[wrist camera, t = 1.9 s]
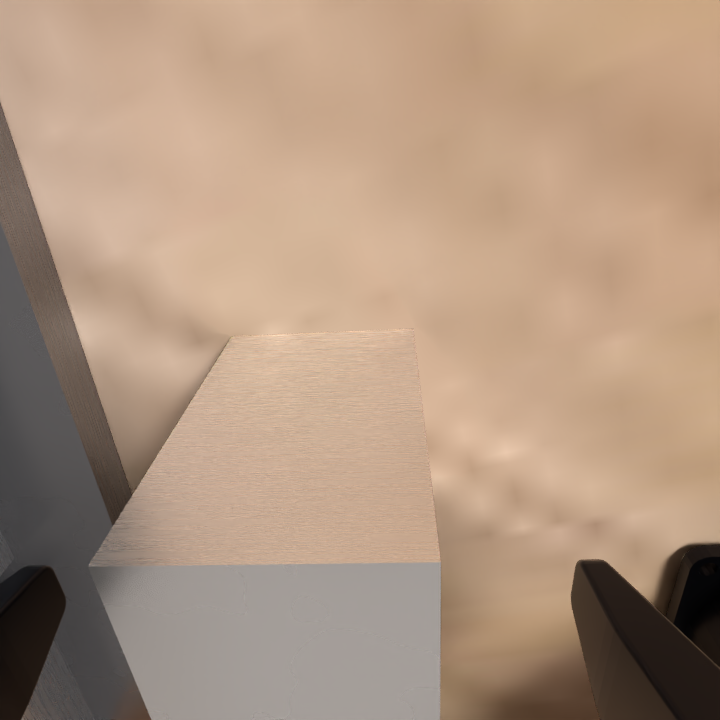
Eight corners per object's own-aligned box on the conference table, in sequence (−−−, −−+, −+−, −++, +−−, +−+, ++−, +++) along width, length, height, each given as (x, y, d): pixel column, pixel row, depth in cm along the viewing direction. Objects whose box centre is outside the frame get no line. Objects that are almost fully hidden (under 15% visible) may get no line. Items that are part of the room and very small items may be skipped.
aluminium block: (416, 474, 15) (439, 762, 8) (259, 478, 15) (168, 759, 9) (413, 328, 13) (441, 562, 6) (231, 336, 13) (88, 566, 7)
